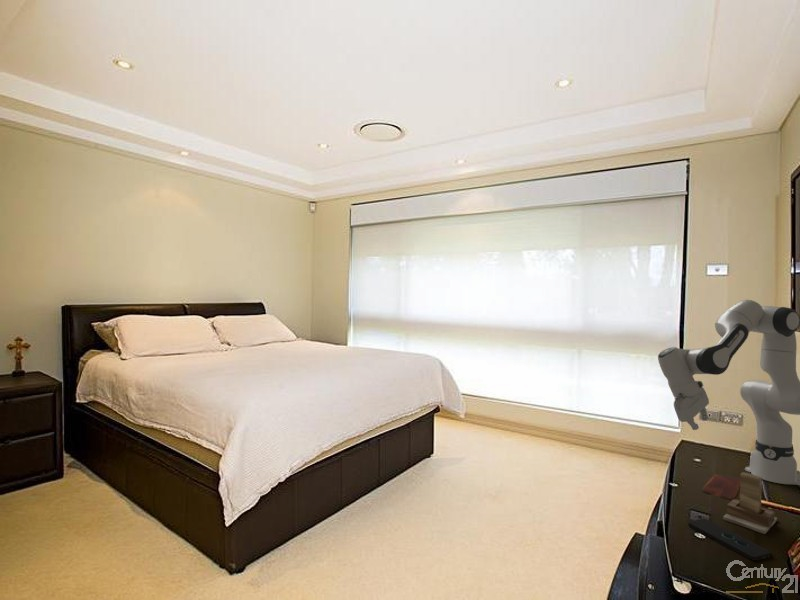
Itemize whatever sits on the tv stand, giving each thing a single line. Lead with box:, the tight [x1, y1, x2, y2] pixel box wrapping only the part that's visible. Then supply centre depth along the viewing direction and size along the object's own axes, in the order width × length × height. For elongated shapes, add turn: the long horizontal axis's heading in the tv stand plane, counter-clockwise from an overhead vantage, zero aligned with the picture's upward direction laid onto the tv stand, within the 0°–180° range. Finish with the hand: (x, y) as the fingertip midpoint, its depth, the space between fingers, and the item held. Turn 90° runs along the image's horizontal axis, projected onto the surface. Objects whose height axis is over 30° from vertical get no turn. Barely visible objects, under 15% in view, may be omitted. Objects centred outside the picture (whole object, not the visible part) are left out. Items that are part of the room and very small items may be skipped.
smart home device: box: [687, 518, 773, 560], centre depth 133 cm, size 8×2×20 cm
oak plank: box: [739, 471, 763, 514], centre depth 145 cm, size 3×5×14 cm, turn 37°
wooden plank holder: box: [722, 498, 778, 535], centre depth 145 cm, size 14×11×4 cm
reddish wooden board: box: [702, 473, 740, 501], centre depth 172 cm, size 27×10×2 cm, turn 135°
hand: (700, 424), depth 164 cm, fingers open, 8 cm apart
